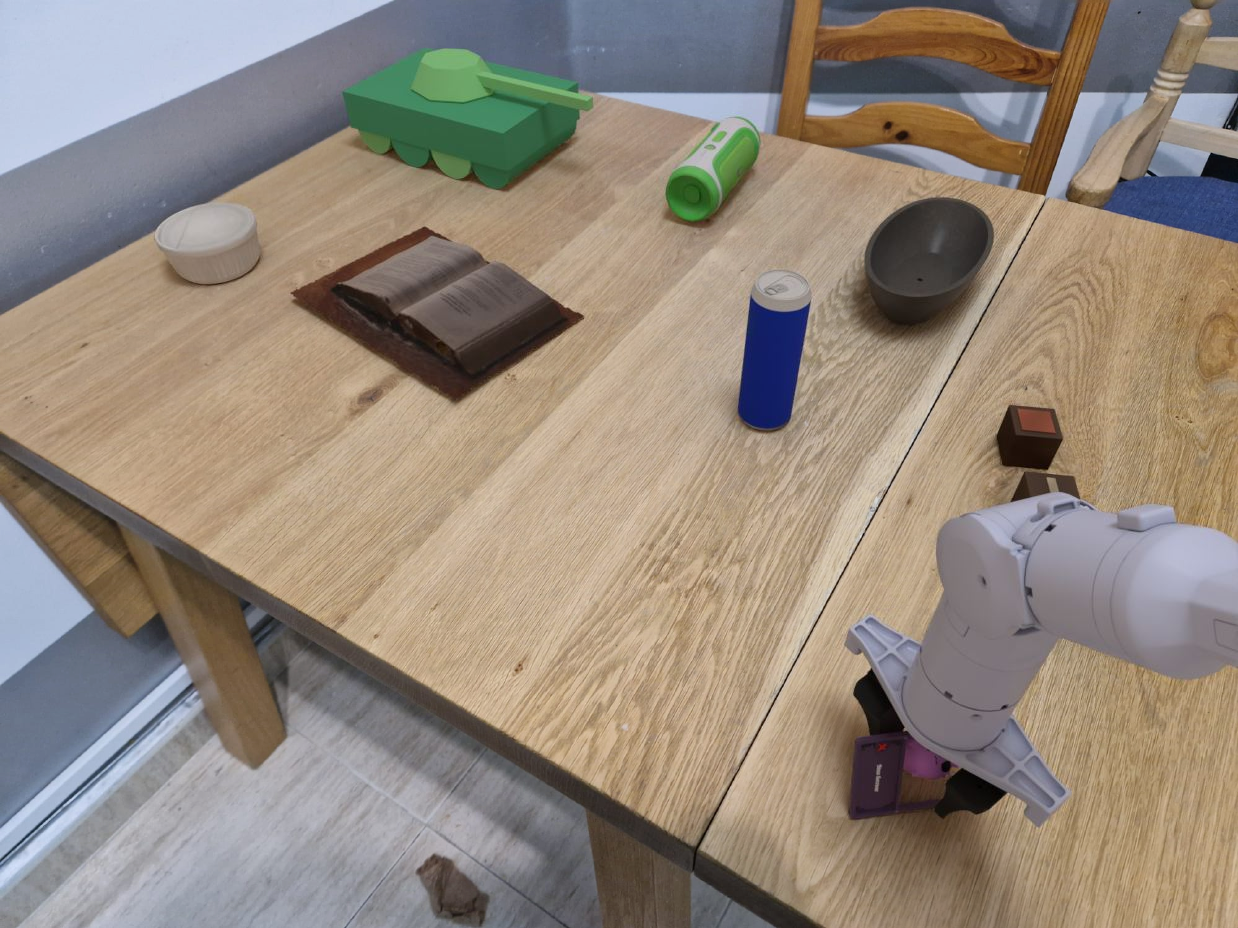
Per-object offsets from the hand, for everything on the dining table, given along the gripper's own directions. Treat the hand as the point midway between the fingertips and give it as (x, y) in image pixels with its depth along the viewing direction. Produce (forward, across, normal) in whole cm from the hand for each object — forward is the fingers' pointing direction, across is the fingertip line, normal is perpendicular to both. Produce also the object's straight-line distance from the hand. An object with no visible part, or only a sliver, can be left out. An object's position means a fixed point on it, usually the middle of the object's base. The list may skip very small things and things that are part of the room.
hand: (915, 774), depth 57 cm
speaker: (+2, +69, -41) cm, 80 cm away
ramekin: (+2, +92, +17) cm, 94 cm away
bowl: (+2, +38, -45) cm, 59 cm away
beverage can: (+2, +33, -17) cm, 37 cm away
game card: (+2, +1, 0) cm, 2 cm away
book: (+2, +68, 0) cm, 68 cm away
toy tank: (+2, +98, -24) cm, 100 cm away
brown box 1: (+1, +15, -32) cm, 36 cm away
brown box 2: (+1, +9, -26) cm, 28 cm away
